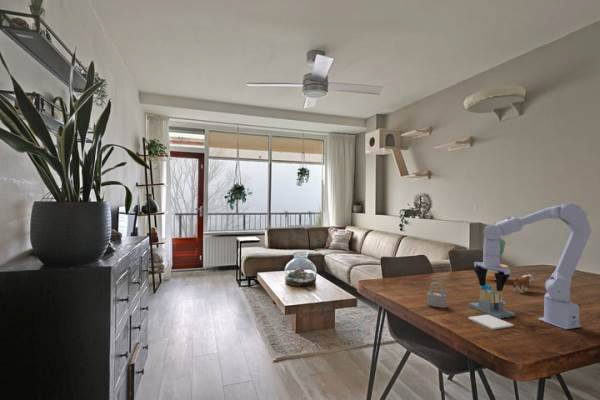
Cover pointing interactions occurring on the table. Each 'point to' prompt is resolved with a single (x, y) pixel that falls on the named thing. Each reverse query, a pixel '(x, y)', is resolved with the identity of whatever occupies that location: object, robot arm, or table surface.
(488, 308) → the vise
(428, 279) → the table surface
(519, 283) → the bull figurine
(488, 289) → the gear
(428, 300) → the padlock
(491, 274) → the potted cactus
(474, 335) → the table surface
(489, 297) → the sleeve
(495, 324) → the mat
